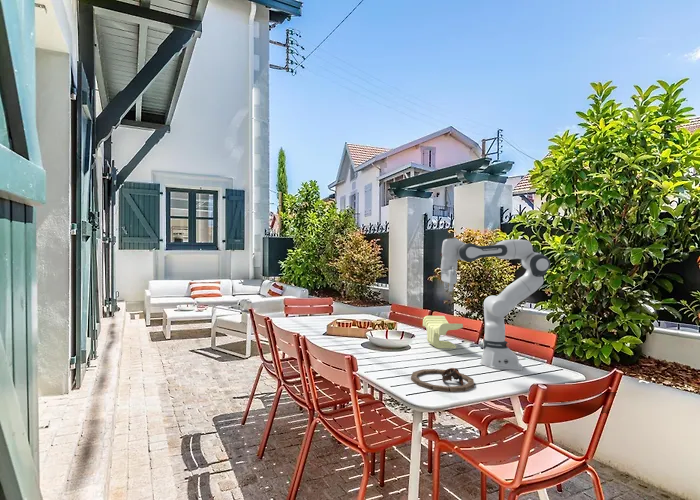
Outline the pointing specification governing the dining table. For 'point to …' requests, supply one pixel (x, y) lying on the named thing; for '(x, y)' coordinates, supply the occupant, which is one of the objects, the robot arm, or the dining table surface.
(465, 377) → the brown flat ring
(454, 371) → the dark brown arched piece
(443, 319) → the ribbed pale green clamp
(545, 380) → the dining table surface
